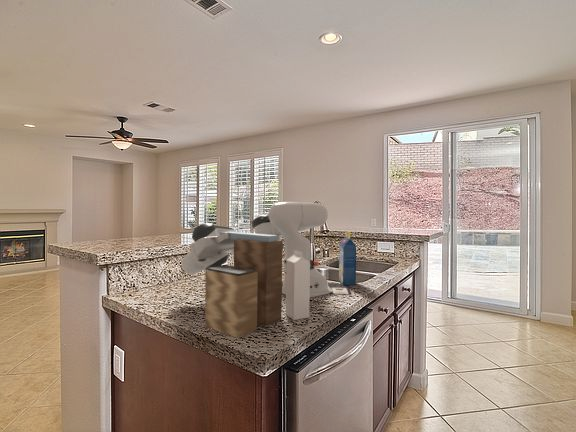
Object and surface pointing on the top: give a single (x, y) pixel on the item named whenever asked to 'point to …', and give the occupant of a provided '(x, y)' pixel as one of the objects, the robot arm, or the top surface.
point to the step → (231, 300)
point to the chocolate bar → (339, 288)
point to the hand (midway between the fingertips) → (234, 233)
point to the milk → (297, 286)
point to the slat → (252, 236)
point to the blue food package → (347, 261)
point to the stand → (263, 275)
